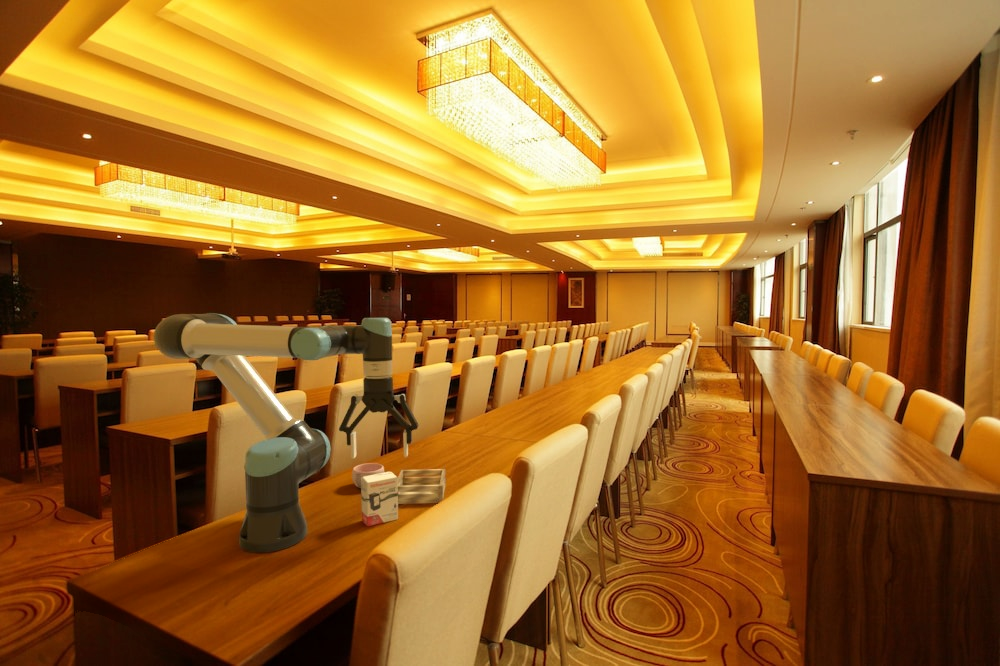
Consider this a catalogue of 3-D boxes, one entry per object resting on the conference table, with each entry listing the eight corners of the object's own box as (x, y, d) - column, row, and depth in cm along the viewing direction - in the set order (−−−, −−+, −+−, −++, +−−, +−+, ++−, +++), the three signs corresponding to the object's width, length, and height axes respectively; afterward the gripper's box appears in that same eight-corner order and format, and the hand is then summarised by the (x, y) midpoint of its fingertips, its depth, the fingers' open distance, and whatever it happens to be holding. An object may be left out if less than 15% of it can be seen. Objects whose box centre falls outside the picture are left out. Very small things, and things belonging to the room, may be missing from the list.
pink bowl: (373, 493, 150) (373, 474, 150) (345, 489, 153) (345, 470, 153) (393, 480, 162) (393, 462, 161) (367, 477, 165) (366, 459, 164)
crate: (393, 504, 142) (393, 486, 141) (401, 485, 157) (401, 469, 156) (442, 502, 142) (442, 485, 142) (445, 484, 157) (445, 468, 157)
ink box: (367, 527, 127) (366, 482, 126) (361, 520, 131) (360, 476, 130) (398, 519, 131) (398, 475, 131) (391, 513, 135) (391, 470, 135)
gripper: (325, 379, 125) (327, 462, 126) (424, 377, 126) (426, 459, 127) (333, 375, 132) (335, 453, 133) (427, 373, 134) (428, 451, 135)
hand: (379, 456), depth 130 cm, fingers open, 13 cm apart
